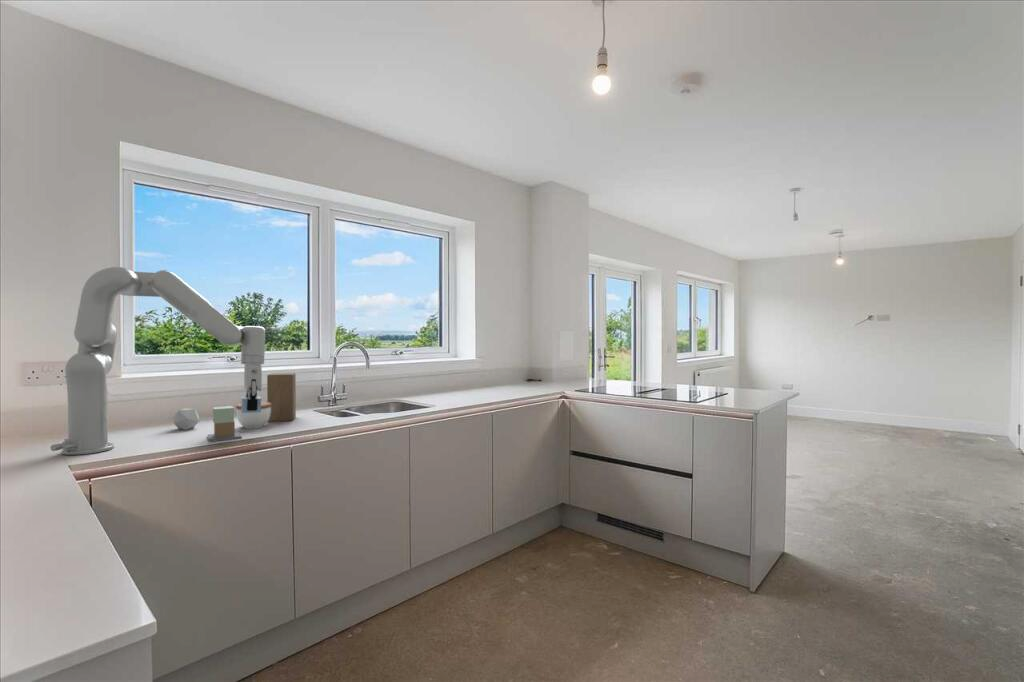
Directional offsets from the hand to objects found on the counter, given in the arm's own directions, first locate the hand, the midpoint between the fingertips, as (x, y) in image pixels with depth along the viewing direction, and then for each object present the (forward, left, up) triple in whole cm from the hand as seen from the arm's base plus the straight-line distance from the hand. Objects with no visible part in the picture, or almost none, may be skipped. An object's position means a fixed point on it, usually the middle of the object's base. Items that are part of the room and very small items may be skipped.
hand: (251, 408), depth 180 cm
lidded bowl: (+16, +11, -10) cm, 22 cm away
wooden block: (+33, +11, -10) cm, 36 cm away
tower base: (-4, +7, -10) cm, 13 cm away
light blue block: (0, 0, -1) cm, 1 cm away
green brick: (-5, +8, -4) cm, 10 cm away
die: (+7, +34, -10) cm, 36 cm away
